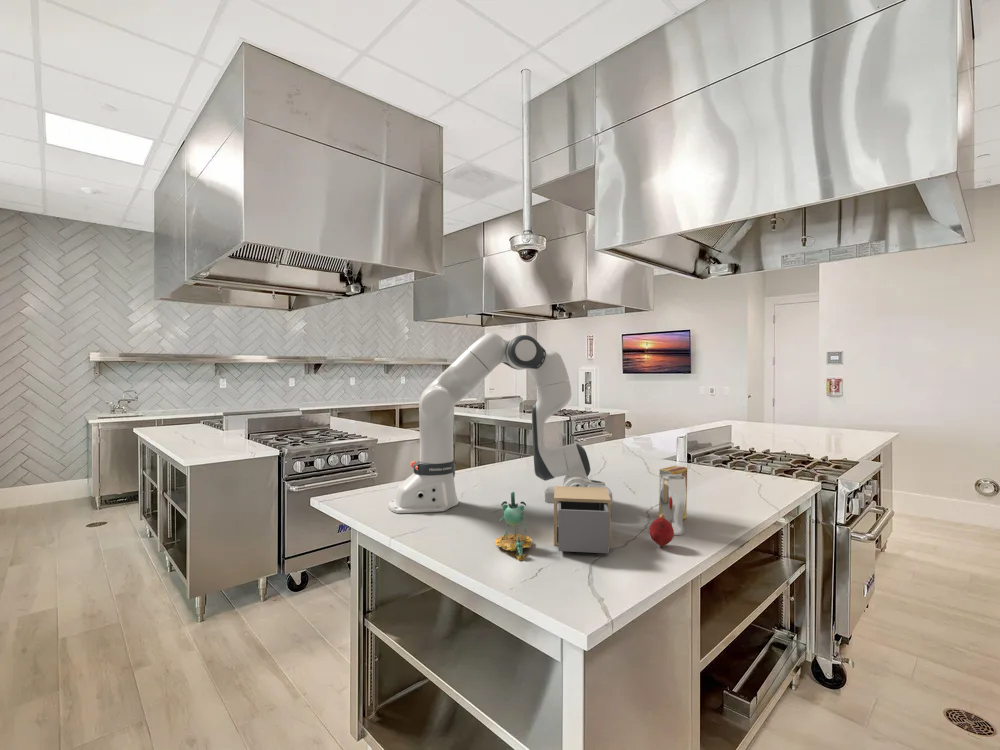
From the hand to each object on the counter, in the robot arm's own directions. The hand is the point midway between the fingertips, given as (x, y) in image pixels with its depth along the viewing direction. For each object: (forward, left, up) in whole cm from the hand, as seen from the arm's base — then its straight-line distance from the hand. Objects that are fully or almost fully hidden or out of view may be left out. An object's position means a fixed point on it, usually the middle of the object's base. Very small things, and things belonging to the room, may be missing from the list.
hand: (578, 503), depth 136 cm
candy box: (+27, -7, -6) cm, 29 cm away
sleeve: (-6, -11, -6) cm, 14 cm away
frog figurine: (-25, -11, -6) cm, 28 cm away
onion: (+10, -23, -6) cm, 26 cm away
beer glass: (+20, -15, -6) cm, 26 cm away
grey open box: (-7, -13, -4) cm, 16 cm away
